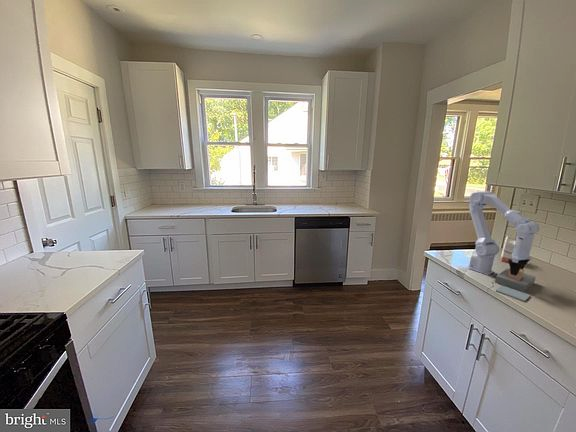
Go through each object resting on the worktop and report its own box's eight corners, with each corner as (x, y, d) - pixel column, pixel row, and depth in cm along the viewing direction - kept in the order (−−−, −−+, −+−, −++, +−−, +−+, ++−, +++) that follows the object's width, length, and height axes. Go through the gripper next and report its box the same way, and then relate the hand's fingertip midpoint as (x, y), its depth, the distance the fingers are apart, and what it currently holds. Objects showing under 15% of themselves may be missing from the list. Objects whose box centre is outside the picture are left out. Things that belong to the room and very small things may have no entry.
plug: (505, 283, 121) (509, 268, 119) (508, 280, 123) (512, 266, 121) (517, 287, 117) (521, 272, 115) (520, 284, 120) (524, 269, 118)
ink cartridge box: (512, 263, 143) (518, 240, 140) (501, 261, 146) (506, 238, 143) (511, 259, 150) (516, 236, 146) (500, 257, 153) (506, 234, 149)
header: (494, 282, 121) (496, 275, 120) (505, 274, 130) (507, 268, 129) (524, 292, 112) (525, 285, 112) (534, 283, 121) (535, 276, 120)
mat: (495, 291, 113) (496, 290, 113) (502, 286, 117) (502, 285, 117) (524, 301, 105) (524, 300, 105) (530, 296, 109) (530, 295, 109)
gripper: (529, 252, 108) (522, 280, 111) (538, 246, 116) (531, 272, 119) (509, 247, 114) (502, 274, 117) (519, 242, 122) (512, 267, 125)
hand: (516, 272), depth 119 cm, fingers open, 7 cm apart
